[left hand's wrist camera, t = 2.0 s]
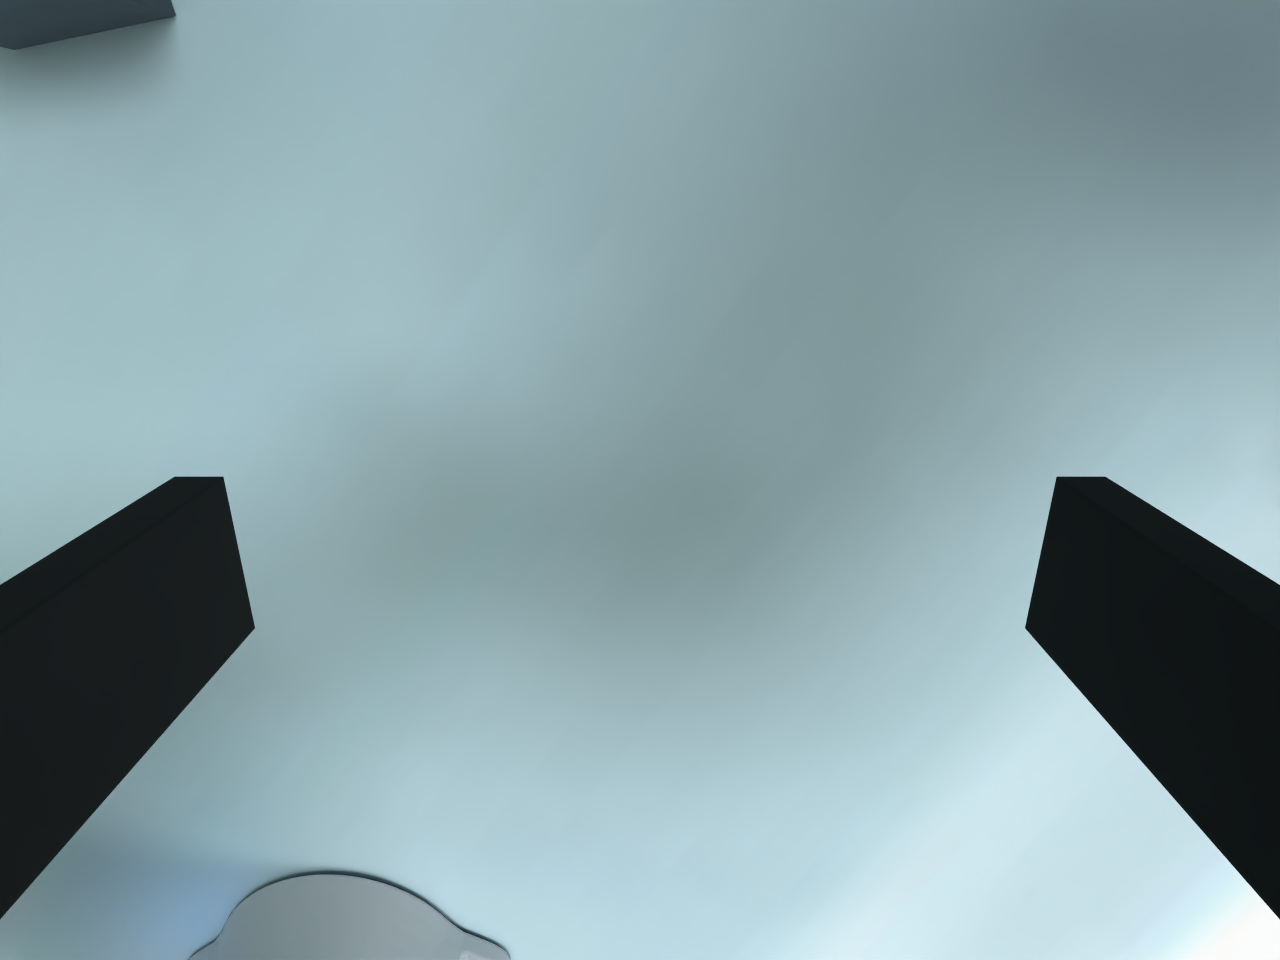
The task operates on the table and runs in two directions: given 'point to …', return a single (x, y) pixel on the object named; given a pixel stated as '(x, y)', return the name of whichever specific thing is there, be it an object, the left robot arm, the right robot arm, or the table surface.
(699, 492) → the table surface
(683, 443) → the table surface
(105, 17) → the box
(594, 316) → the table surface
